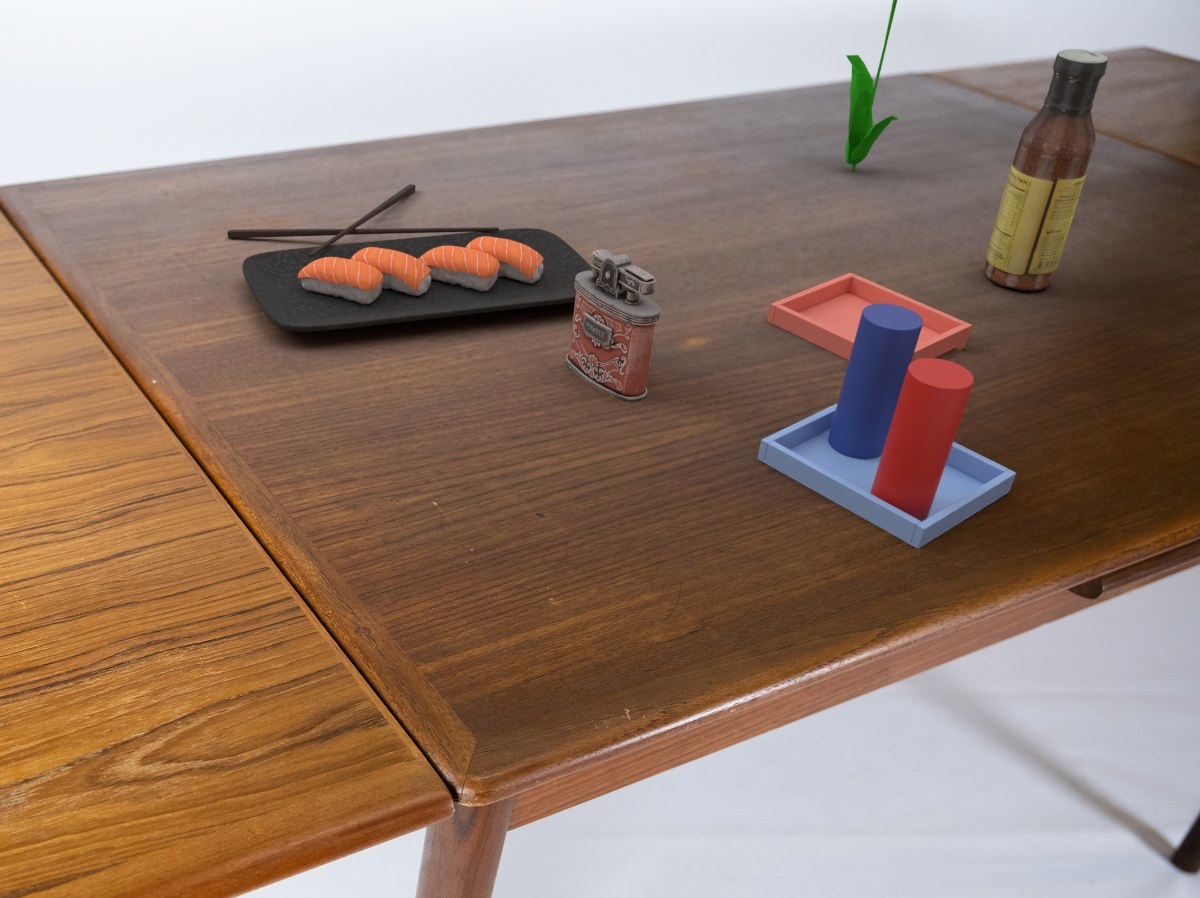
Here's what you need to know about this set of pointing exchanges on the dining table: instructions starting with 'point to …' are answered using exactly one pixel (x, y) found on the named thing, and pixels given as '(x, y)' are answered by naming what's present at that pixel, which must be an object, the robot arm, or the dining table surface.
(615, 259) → the lighter
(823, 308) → the red tray
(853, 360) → the blue peg
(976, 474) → the blue tray
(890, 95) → the dining table surface
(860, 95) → the flower
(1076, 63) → the sauce bottle
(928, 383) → the red peg
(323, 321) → the sushi plate
